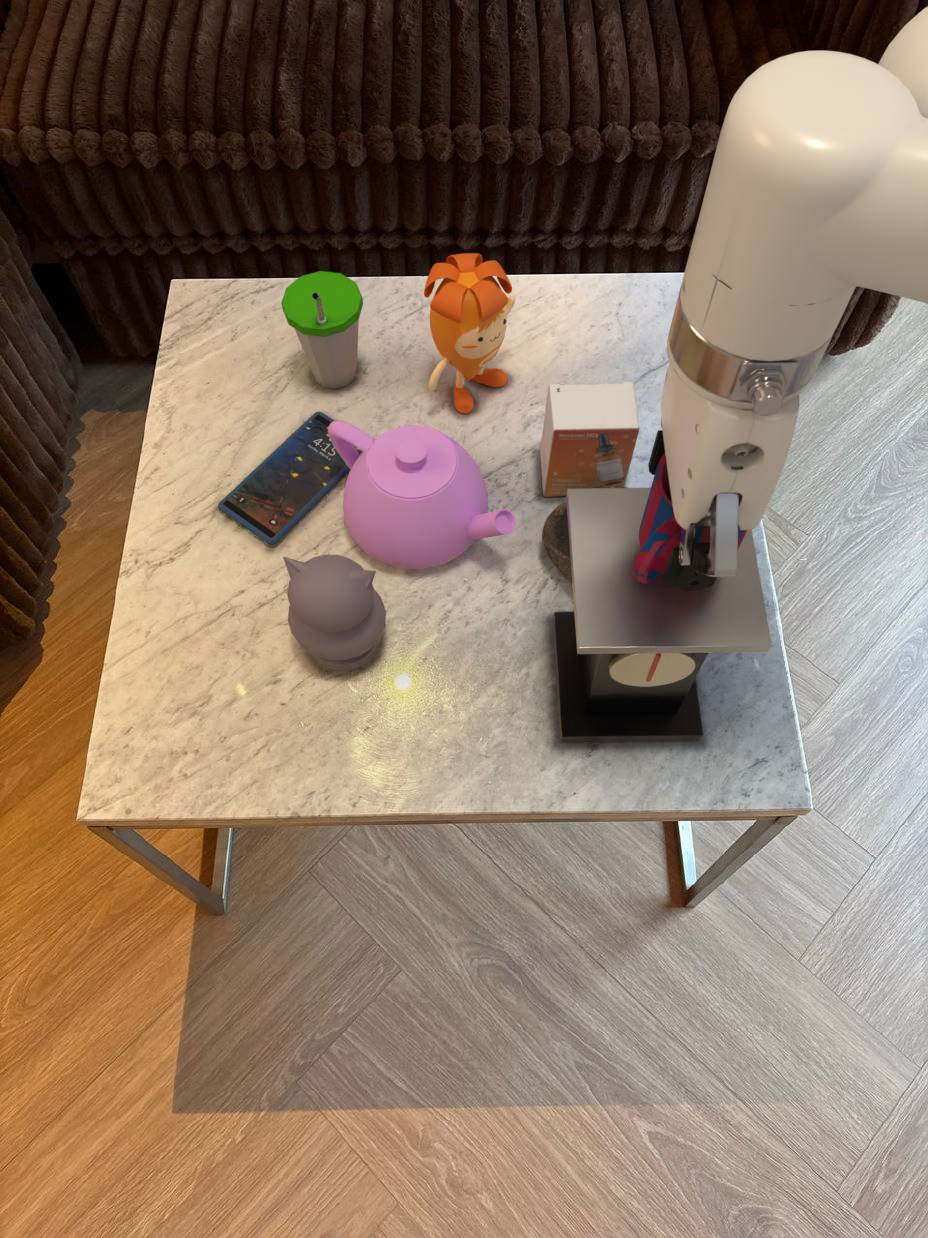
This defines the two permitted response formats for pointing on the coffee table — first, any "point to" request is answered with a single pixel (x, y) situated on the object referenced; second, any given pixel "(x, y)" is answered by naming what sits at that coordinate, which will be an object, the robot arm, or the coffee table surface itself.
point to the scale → (641, 629)
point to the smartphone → (287, 482)
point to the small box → (588, 436)
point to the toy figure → (468, 321)
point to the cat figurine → (335, 610)
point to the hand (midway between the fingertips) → (679, 524)
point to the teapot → (414, 495)
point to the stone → (560, 538)
